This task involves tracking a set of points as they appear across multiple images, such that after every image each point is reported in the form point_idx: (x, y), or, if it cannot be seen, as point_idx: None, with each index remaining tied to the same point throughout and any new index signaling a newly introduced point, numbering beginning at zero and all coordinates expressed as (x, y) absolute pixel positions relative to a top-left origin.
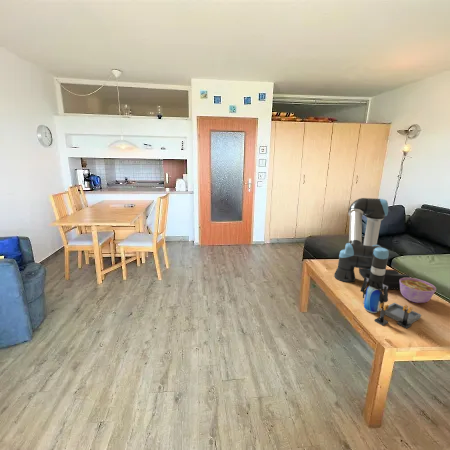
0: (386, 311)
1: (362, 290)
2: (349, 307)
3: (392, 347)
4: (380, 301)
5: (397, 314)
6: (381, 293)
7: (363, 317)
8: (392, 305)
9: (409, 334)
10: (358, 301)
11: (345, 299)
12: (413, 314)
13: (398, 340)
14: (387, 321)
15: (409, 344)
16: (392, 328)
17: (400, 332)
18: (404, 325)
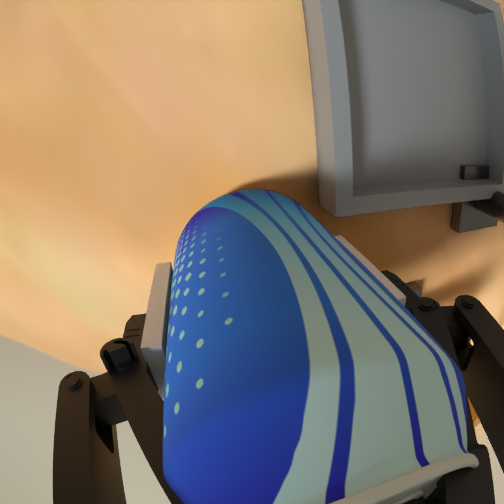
0: (385, 210)
1: (116, 436)
2: None
3: None
4: None
5: (413, 100)
6: None
7: None
8: (337, 12)
9: (500, 257)
10: (74, 240)
11: (32, 322)
12: (458, 4)
13: (472, 343)
14: (419, 292)
15: (500, 320)
16: (444, 299)
17: (474, 287)
18: (486, 222)
